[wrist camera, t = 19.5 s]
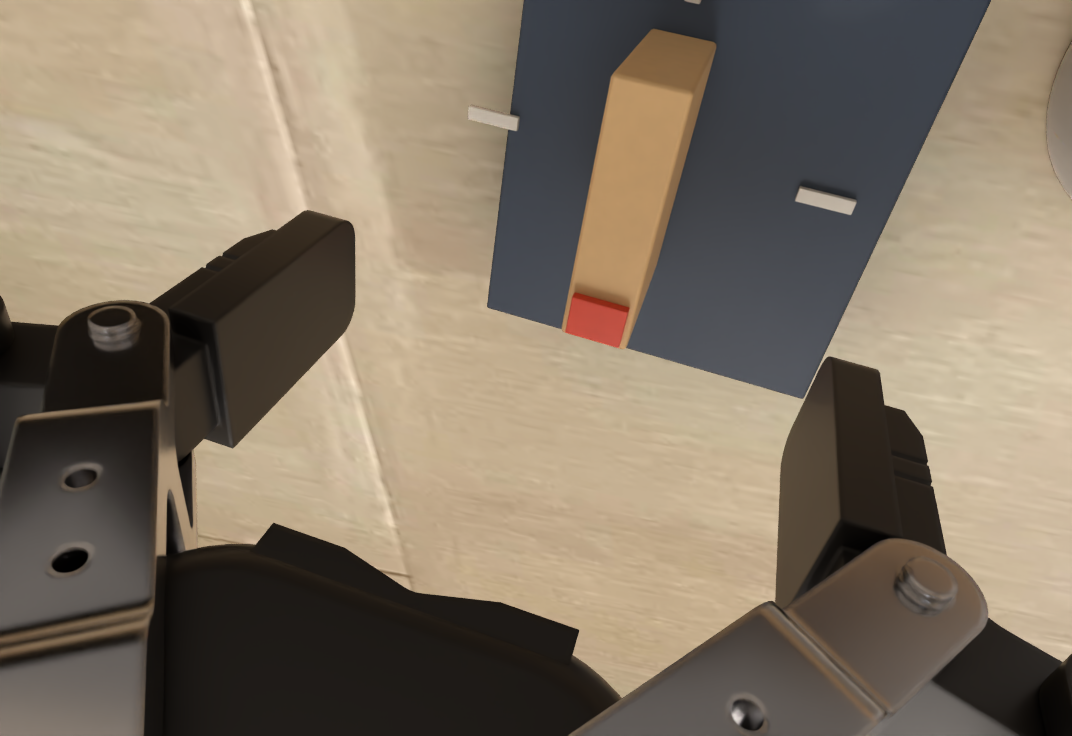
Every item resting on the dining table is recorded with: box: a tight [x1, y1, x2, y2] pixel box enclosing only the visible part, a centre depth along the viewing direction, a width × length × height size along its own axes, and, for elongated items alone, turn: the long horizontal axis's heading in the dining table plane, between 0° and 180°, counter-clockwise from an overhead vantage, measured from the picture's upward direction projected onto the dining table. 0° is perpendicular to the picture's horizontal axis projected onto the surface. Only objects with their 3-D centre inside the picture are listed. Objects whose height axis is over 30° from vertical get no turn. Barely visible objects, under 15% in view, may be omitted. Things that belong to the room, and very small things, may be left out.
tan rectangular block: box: [562, 29, 716, 349], centre depth 17 cm, size 6×2×5 cm, turn 171°
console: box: [468, 0, 991, 399], centre depth 20 cm, size 12×11×3 cm
